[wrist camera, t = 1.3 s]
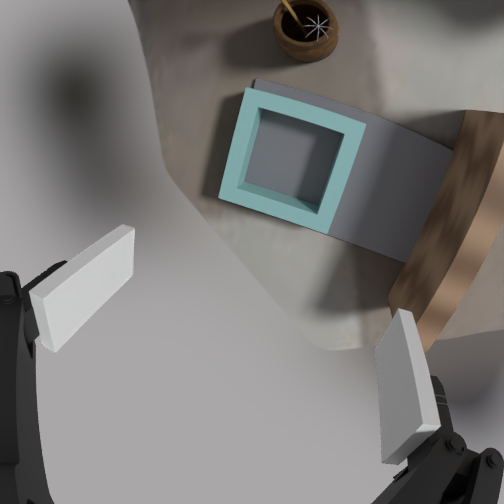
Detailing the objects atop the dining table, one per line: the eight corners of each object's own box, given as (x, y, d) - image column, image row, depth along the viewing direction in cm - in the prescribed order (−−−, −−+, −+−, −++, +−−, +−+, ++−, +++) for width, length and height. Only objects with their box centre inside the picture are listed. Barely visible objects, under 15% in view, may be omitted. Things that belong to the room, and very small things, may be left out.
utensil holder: (308, 74, 29) (297, 56, 18) (265, 34, 28) (233, 0, 17) (350, 41, 26) (361, 7, 16) (306, 0, 25) (294, -48, 15)
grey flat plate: (257, 78, 30) (256, 78, 30) (452, 150, 28) (454, 151, 28) (225, 199, 37) (224, 200, 36) (405, 261, 35) (405, 263, 34)
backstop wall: (466, 109, 26) (511, 114, 17) (487, 122, 26) (535, 131, 17) (387, 296, 37) (398, 350, 28) (407, 303, 37) (422, 357, 28)
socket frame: (253, 88, 30) (246, 87, 28) (362, 122, 29) (366, 124, 27) (226, 190, 36) (218, 198, 33) (327, 224, 35) (327, 234, 32)
